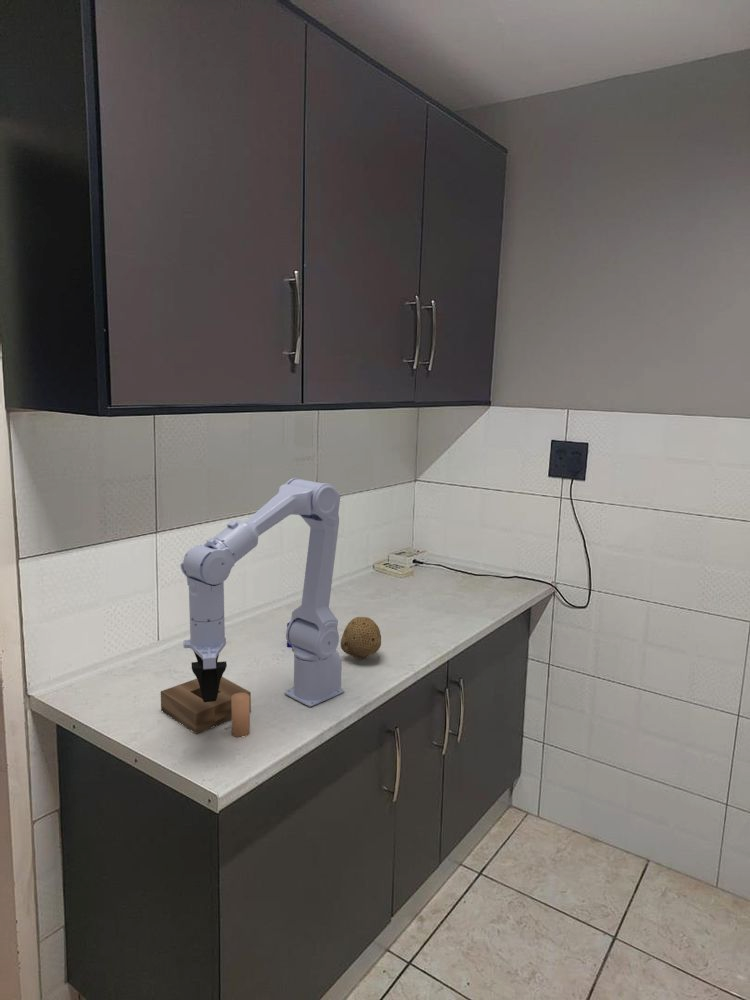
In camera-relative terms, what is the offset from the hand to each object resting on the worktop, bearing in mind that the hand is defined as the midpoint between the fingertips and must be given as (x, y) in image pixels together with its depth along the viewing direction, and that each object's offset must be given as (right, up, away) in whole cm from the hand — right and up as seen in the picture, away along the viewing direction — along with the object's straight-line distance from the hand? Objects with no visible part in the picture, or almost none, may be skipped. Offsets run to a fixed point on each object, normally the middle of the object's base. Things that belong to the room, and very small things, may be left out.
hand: (208, 690), depth 119 cm
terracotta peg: (+5, -9, +5) cm, 11 cm away
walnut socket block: (-4, -7, +12) cm, 15 cm away
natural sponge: (+26, -4, +38) cm, 46 cm away
